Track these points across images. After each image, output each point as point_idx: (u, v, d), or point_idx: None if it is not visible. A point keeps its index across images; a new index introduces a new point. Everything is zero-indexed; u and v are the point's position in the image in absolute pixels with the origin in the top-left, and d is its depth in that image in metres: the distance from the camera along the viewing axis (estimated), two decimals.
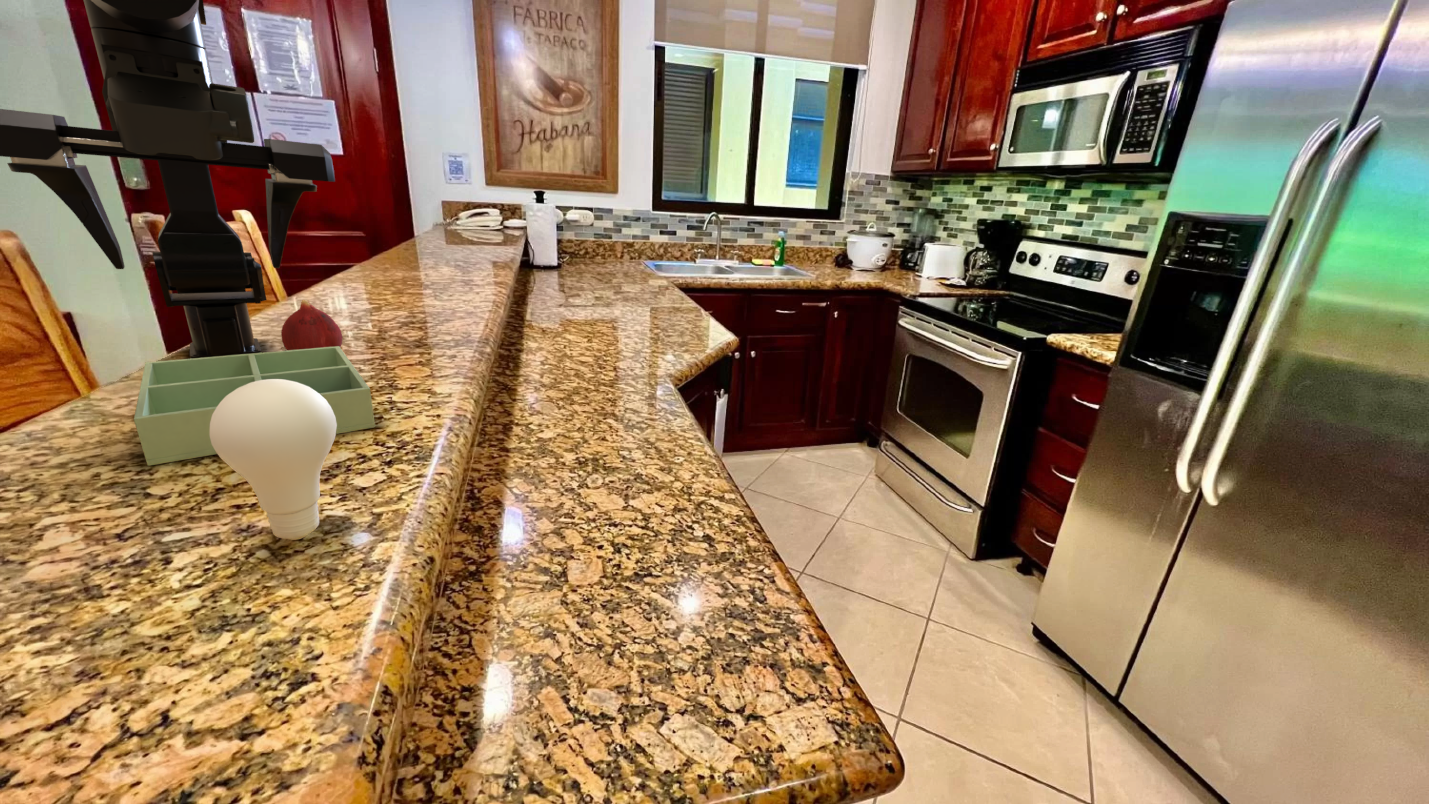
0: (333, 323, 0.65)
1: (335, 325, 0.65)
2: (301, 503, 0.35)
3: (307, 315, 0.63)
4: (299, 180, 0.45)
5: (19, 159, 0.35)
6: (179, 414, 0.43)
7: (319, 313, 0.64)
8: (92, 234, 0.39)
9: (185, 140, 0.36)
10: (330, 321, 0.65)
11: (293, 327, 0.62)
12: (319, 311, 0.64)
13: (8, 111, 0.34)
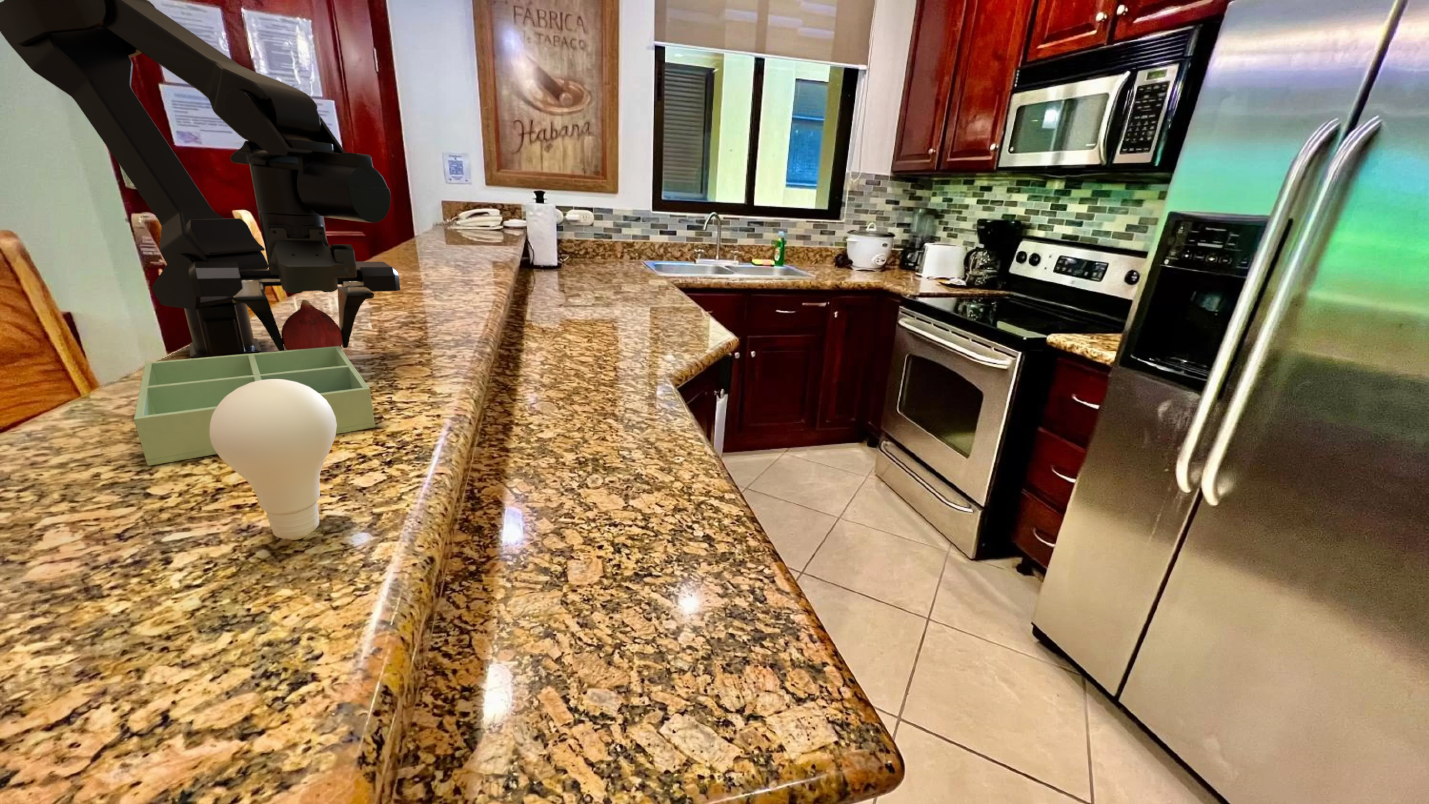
0: (333, 323, 0.65)
1: (335, 325, 0.65)
2: (301, 503, 0.35)
3: (308, 315, 0.63)
4: (362, 290, 0.66)
5: (237, 295, 0.58)
6: (179, 414, 0.43)
7: (319, 313, 0.64)
8: (270, 334, 0.62)
9: (319, 282, 0.57)
10: (330, 321, 0.65)
11: (293, 327, 0.62)
12: (319, 311, 0.64)
13: (214, 269, 0.56)
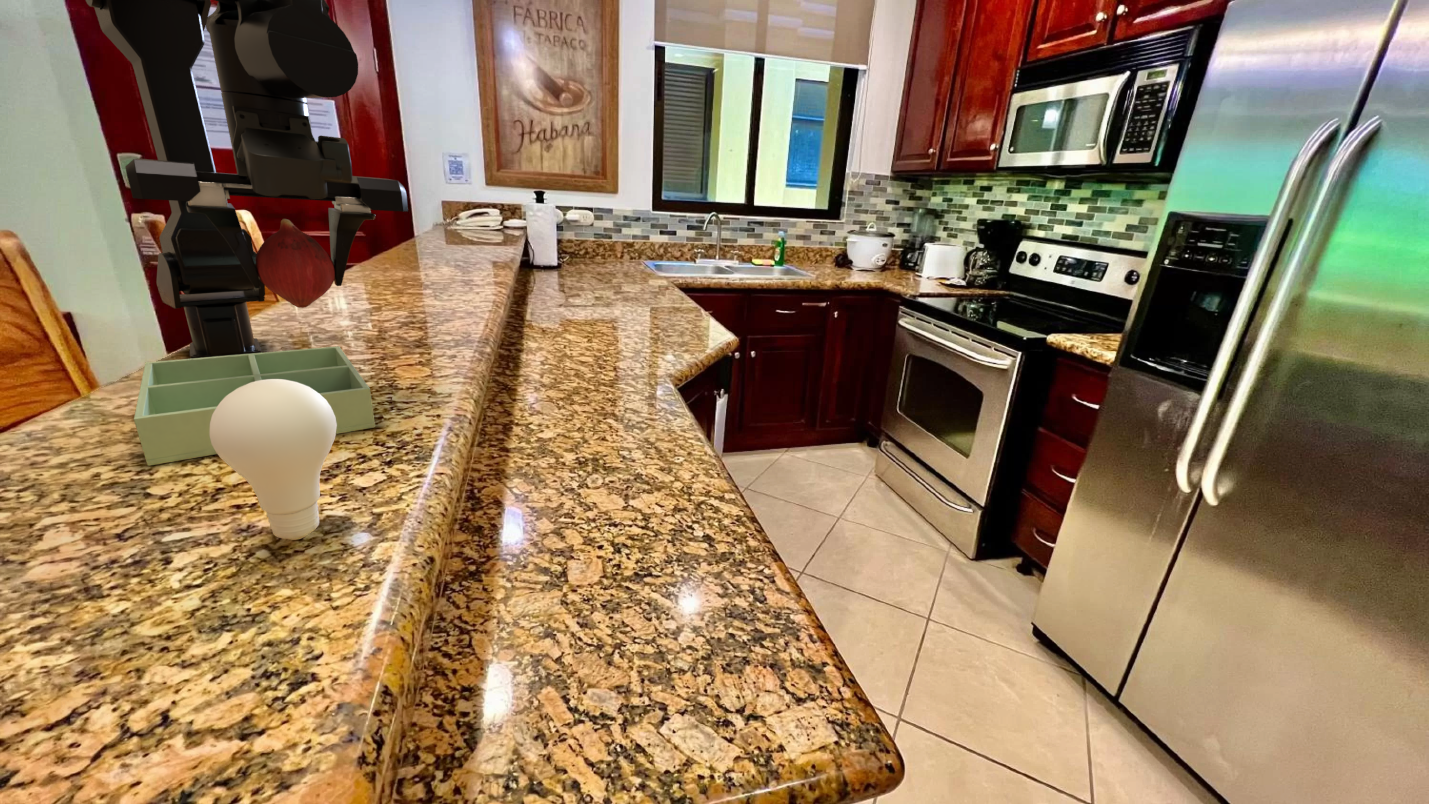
0: (323, 251, 0.51)
1: (325, 254, 0.51)
2: (301, 503, 0.35)
3: (289, 237, 0.49)
4: (360, 210, 0.51)
5: (194, 202, 0.44)
6: (179, 414, 0.43)
7: (305, 236, 0.50)
8: (240, 260, 0.47)
9: (302, 183, 0.43)
10: (319, 248, 0.50)
11: (271, 252, 0.48)
12: (304, 234, 0.50)
13: (161, 162, 0.42)
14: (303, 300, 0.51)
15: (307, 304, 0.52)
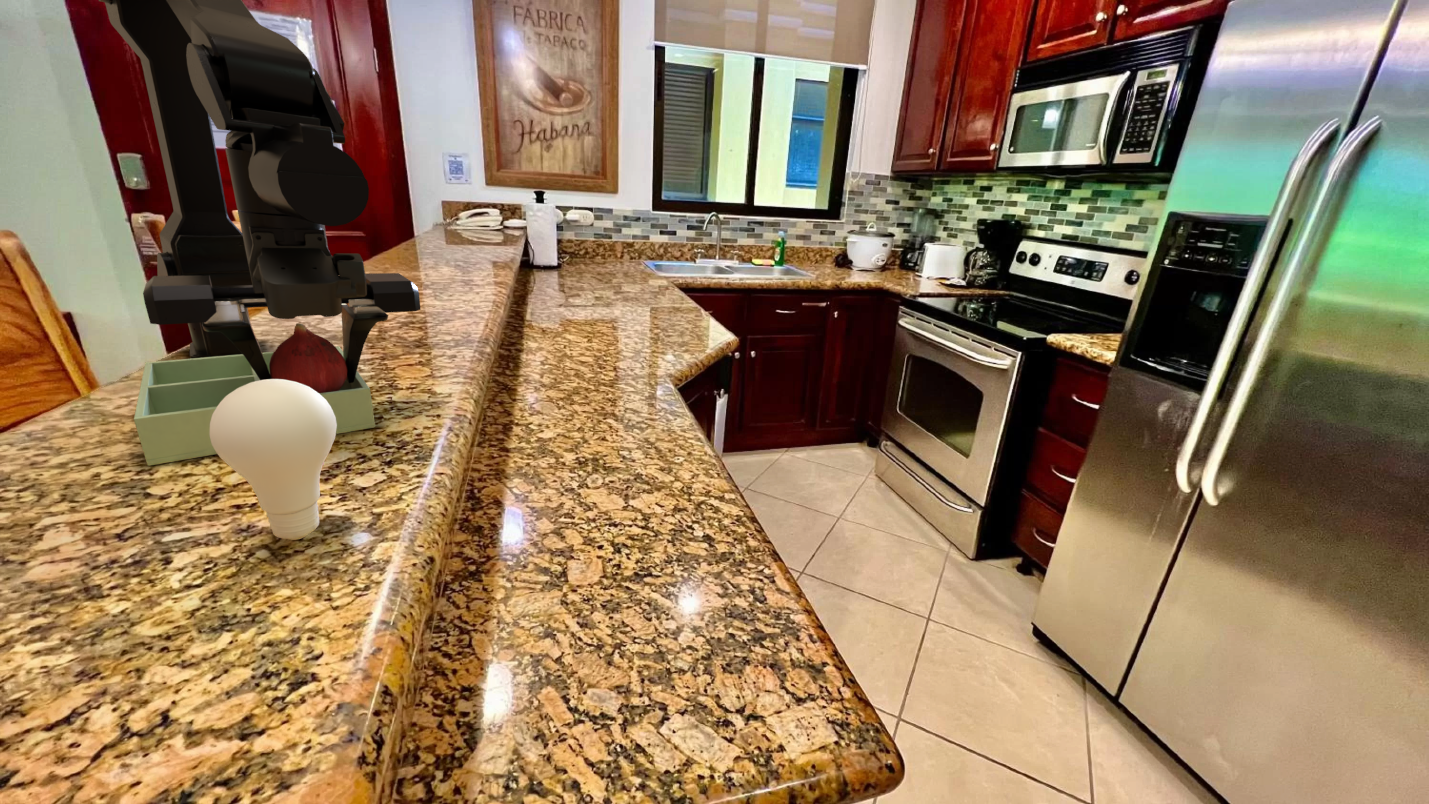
0: (336, 352, 0.51)
1: (338, 355, 0.51)
2: (301, 503, 0.35)
3: (303, 343, 0.49)
4: (373, 311, 0.52)
5: (210, 320, 0.44)
6: (179, 414, 0.43)
7: (318, 340, 0.50)
8: (254, 369, 0.48)
9: (317, 305, 0.43)
10: (332, 350, 0.51)
11: (285, 359, 0.48)
12: (318, 337, 0.50)
13: (178, 287, 0.42)
14: None
15: None
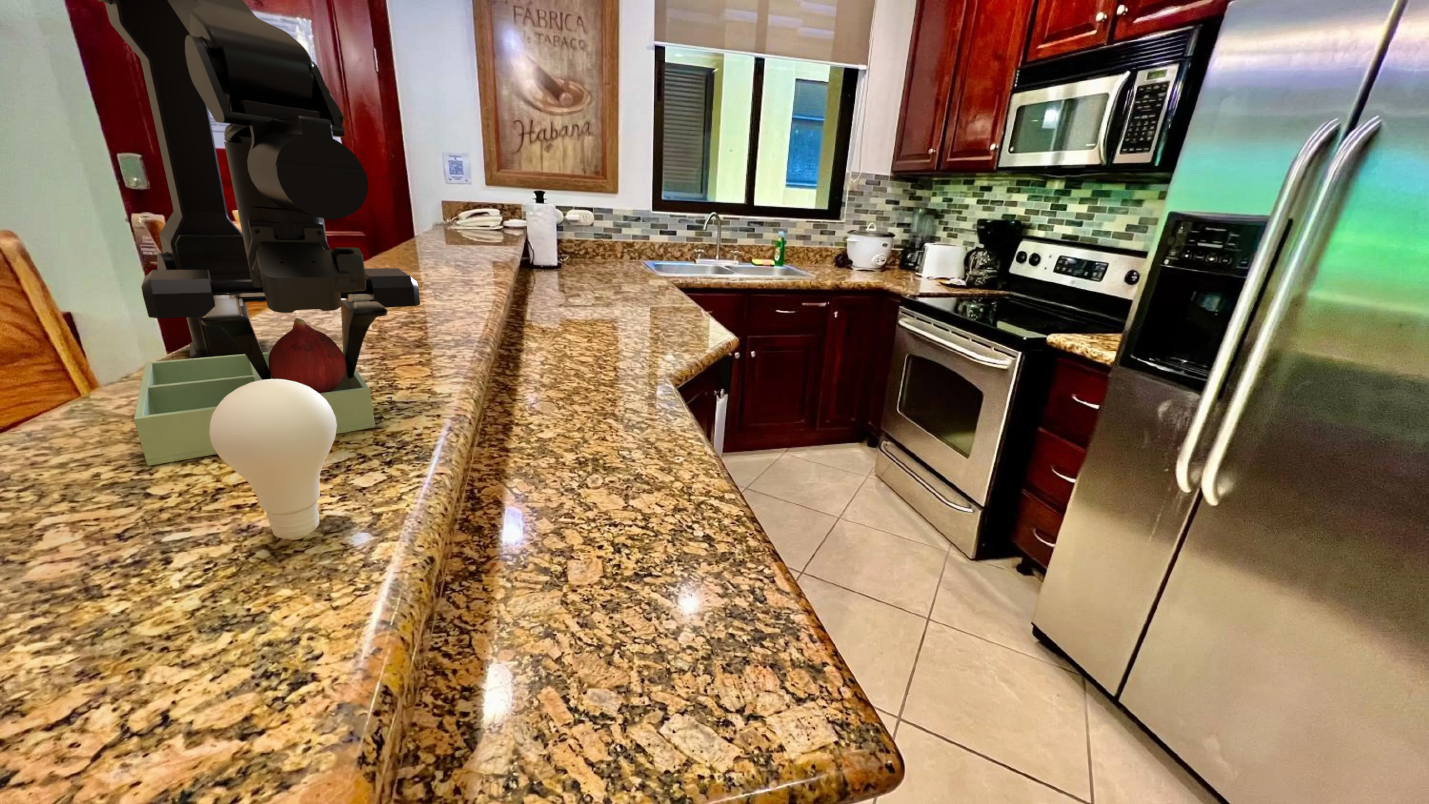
0: (335, 347, 0.51)
1: (337, 350, 0.51)
2: (301, 503, 0.35)
3: (302, 338, 0.49)
4: (372, 306, 0.52)
5: (208, 315, 0.44)
6: (179, 414, 0.43)
7: (317, 335, 0.50)
8: (253, 363, 0.47)
9: (316, 299, 0.43)
10: (331, 345, 0.51)
11: (283, 354, 0.48)
12: (317, 332, 0.50)
13: (177, 280, 0.42)
14: None
15: None
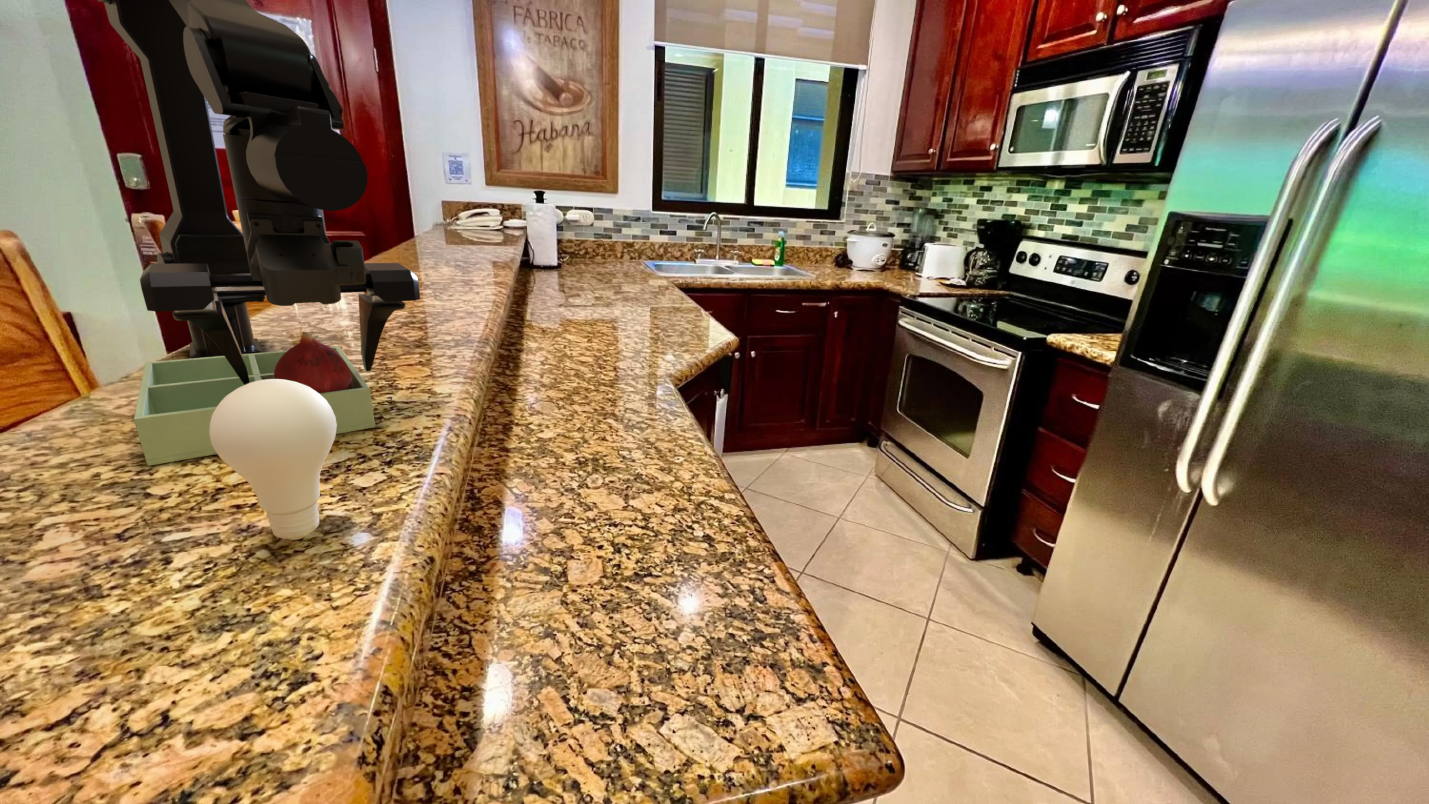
0: (341, 362, 0.51)
1: (343, 364, 0.52)
2: (301, 503, 0.35)
3: (309, 353, 0.49)
4: None
5: None
6: (179, 414, 0.43)
7: (324, 349, 0.50)
8: (229, 360, 0.46)
9: (316, 292, 0.43)
10: (337, 360, 0.51)
11: (290, 368, 0.48)
12: (324, 347, 0.50)
13: (175, 273, 0.42)
14: None
15: None
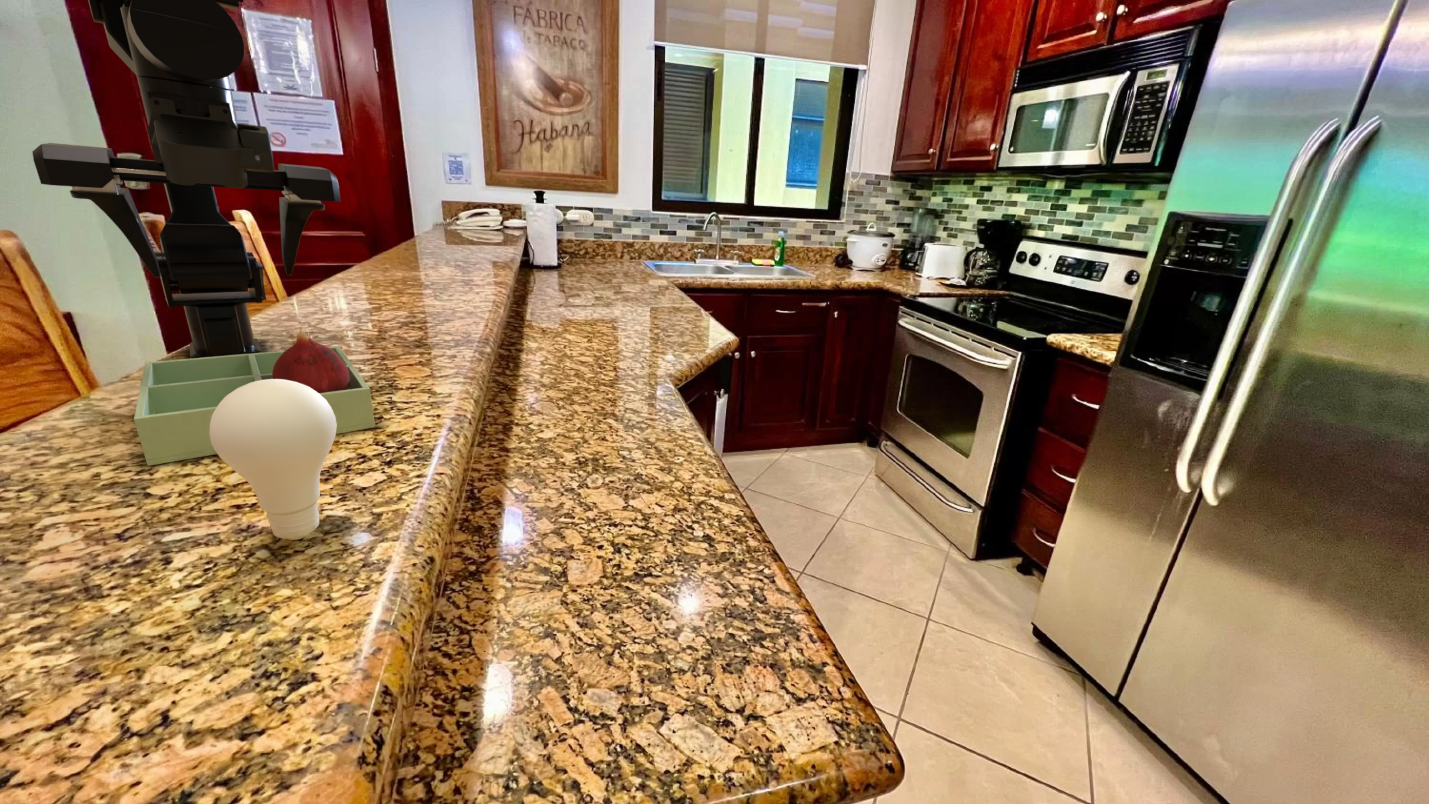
0: (338, 361, 0.51)
1: (341, 363, 0.52)
2: (301, 503, 0.35)
3: (306, 352, 0.49)
4: (309, 200, 0.52)
5: (79, 187, 0.42)
6: (179, 414, 0.43)
7: (321, 348, 0.50)
8: (135, 248, 0.46)
9: (218, 172, 0.43)
10: (334, 359, 0.51)
11: (287, 368, 0.48)
12: (320, 346, 0.51)
13: (71, 148, 0.41)
14: None
15: None
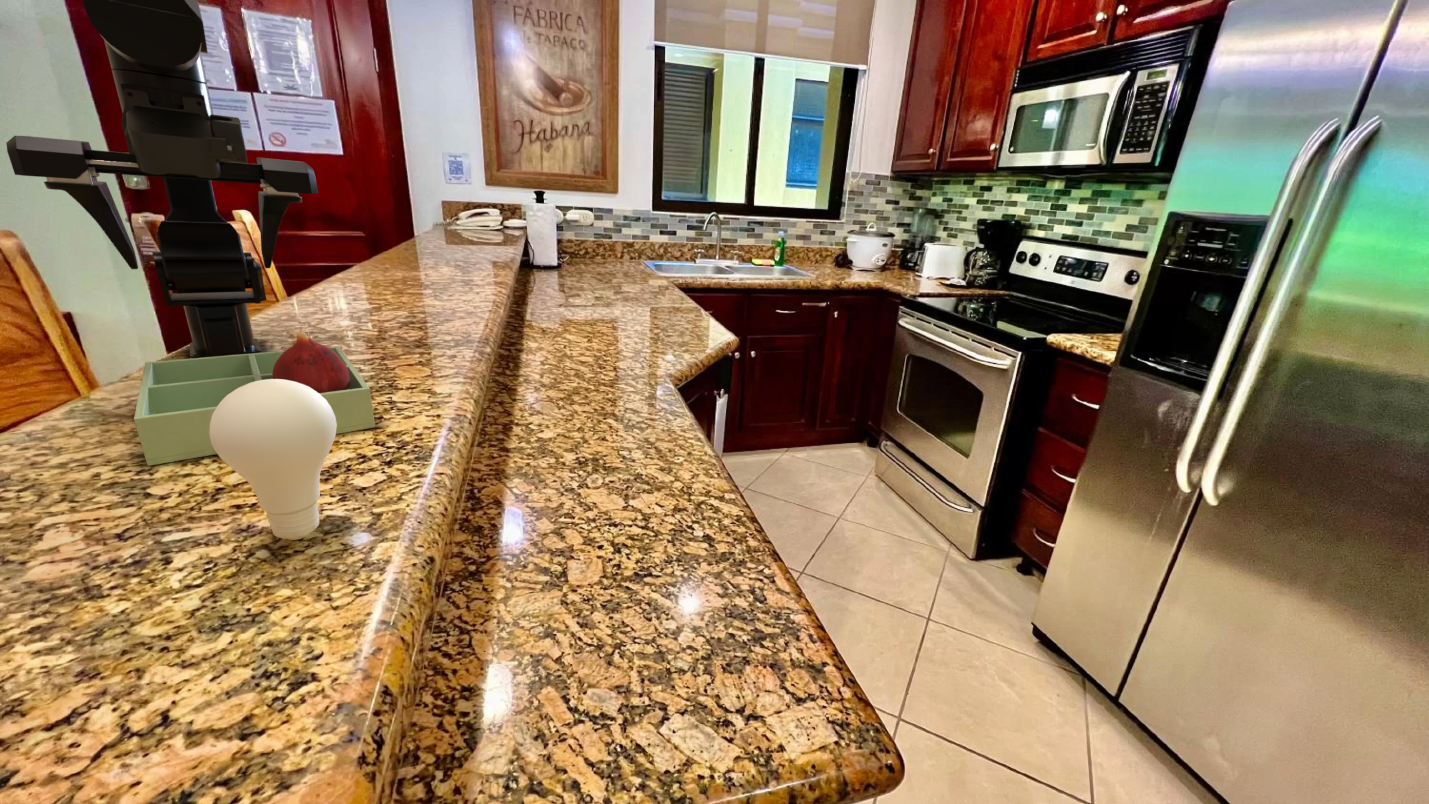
0: (338, 361, 0.51)
1: (341, 363, 0.52)
2: (301, 503, 0.35)
3: (306, 352, 0.49)
4: (287, 193, 0.52)
5: (53, 178, 0.42)
6: (179, 414, 0.43)
7: (321, 348, 0.50)
8: (111, 240, 0.46)
9: (190, 162, 0.43)
10: (334, 359, 0.51)
11: (287, 368, 0.48)
12: (320, 346, 0.51)
13: (45, 139, 0.42)
14: None
15: None
